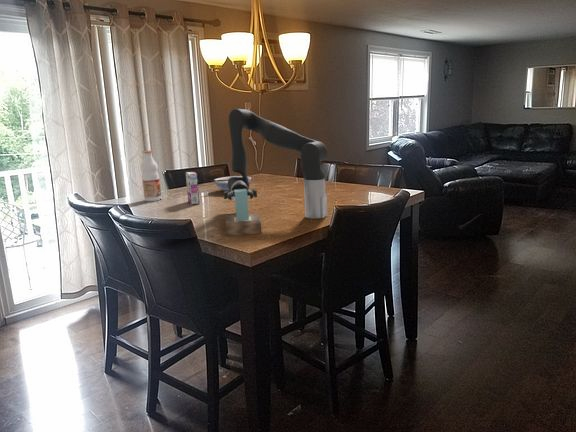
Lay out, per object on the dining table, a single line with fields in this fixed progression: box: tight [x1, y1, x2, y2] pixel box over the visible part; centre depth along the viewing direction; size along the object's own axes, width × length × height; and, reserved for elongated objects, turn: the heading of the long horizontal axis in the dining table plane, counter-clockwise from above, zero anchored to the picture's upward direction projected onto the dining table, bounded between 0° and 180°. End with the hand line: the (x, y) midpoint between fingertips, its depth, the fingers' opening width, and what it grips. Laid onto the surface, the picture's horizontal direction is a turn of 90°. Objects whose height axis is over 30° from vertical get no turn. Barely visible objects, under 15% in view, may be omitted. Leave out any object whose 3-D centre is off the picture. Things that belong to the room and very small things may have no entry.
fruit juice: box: [140, 150, 163, 202], centre depth 252 cm, size 9×9×28 cm
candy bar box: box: [185, 171, 200, 206], centre depth 240 cm, size 11×5×16 cm, turn 21°
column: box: [234, 189, 250, 221], centre depth 183 cm, size 5×5×12 cm
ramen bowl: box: [209, 175, 252, 193], centre depth 271 cm, size 25×23×8 cm
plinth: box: [225, 212, 262, 237], centre depth 185 cm, size 14×18×4 cm
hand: (240, 197), depth 186 cm, fingers open, 8 cm apart
